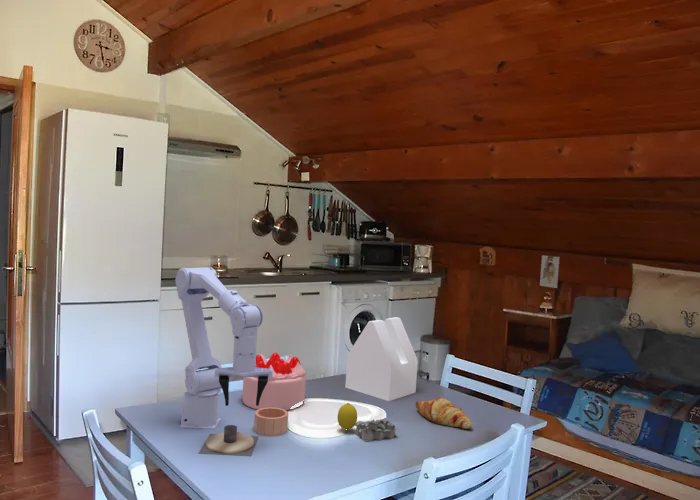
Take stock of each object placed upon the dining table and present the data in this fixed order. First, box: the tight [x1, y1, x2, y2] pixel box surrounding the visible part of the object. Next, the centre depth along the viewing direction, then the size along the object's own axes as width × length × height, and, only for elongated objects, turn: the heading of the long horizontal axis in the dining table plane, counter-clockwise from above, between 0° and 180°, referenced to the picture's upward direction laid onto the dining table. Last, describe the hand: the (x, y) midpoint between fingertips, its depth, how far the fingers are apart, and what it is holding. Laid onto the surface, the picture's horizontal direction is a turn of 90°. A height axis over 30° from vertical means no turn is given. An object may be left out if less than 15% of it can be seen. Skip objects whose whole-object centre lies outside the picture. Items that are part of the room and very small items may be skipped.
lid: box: [205, 424, 254, 454], centre depth 153 cm, size 12×12×4 cm
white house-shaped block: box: [344, 316, 419, 402], centre depth 209 cm, size 19×15×25 cm
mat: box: [197, 433, 259, 457], centre depth 153 cm, size 13×13×1 cm
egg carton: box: [354, 417, 399, 442], centre depth 167 cm, size 11×8×4 cm
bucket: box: [253, 407, 289, 437], centre depth 165 cm, size 9×9×5 cm
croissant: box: [414, 397, 473, 430], centre depth 182 cm, size 21×10×8 cm, turn 45°
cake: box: [241, 352, 307, 412], centre depth 190 cm, size 20×20×14 cm
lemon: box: [337, 402, 358, 431], centre depth 168 cm, size 6×6×8 cm
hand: (242, 404), depth 155 cm, fingers open, 7 cm apart
